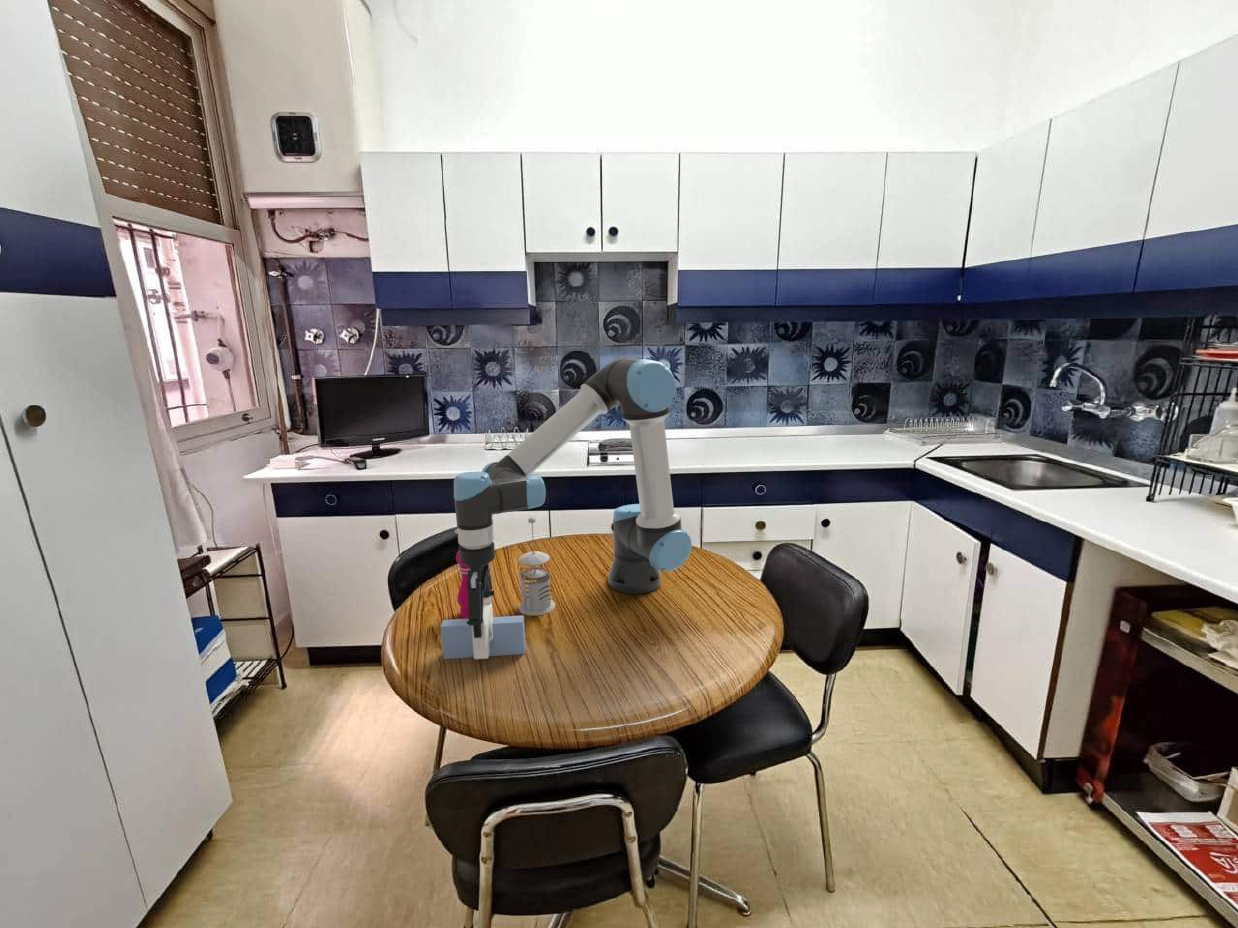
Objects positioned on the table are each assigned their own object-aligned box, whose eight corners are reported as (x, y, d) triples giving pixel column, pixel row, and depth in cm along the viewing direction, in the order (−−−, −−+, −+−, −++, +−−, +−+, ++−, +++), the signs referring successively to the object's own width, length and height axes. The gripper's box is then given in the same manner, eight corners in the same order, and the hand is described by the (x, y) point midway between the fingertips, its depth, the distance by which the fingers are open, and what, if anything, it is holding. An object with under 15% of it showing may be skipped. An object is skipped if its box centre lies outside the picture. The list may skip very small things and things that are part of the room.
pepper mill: (479, 621, 138) (473, 547, 134) (453, 618, 140) (446, 545, 135) (491, 607, 145) (486, 536, 140) (466, 605, 146) (460, 535, 142)
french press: (562, 601, 148) (558, 514, 142) (538, 621, 137) (533, 528, 132) (531, 594, 152) (526, 509, 146) (506, 614, 141) (500, 523, 136)
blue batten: (525, 646, 127) (523, 615, 125) (524, 653, 124) (522, 622, 122) (446, 651, 125) (443, 619, 123) (443, 658, 122) (440, 626, 120)
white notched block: (481, 634, 129) (479, 603, 127) (494, 634, 129) (492, 603, 127) (474, 659, 119) (471, 626, 117) (488, 658, 119) (485, 625, 117)
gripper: (468, 526, 129) (475, 611, 134) (447, 565, 107) (456, 665, 112) (500, 524, 129) (506, 609, 135) (486, 563, 108) (493, 663, 113)
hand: (483, 635), depth 123 cm, fingers closed on white notched block, 10 cm apart
